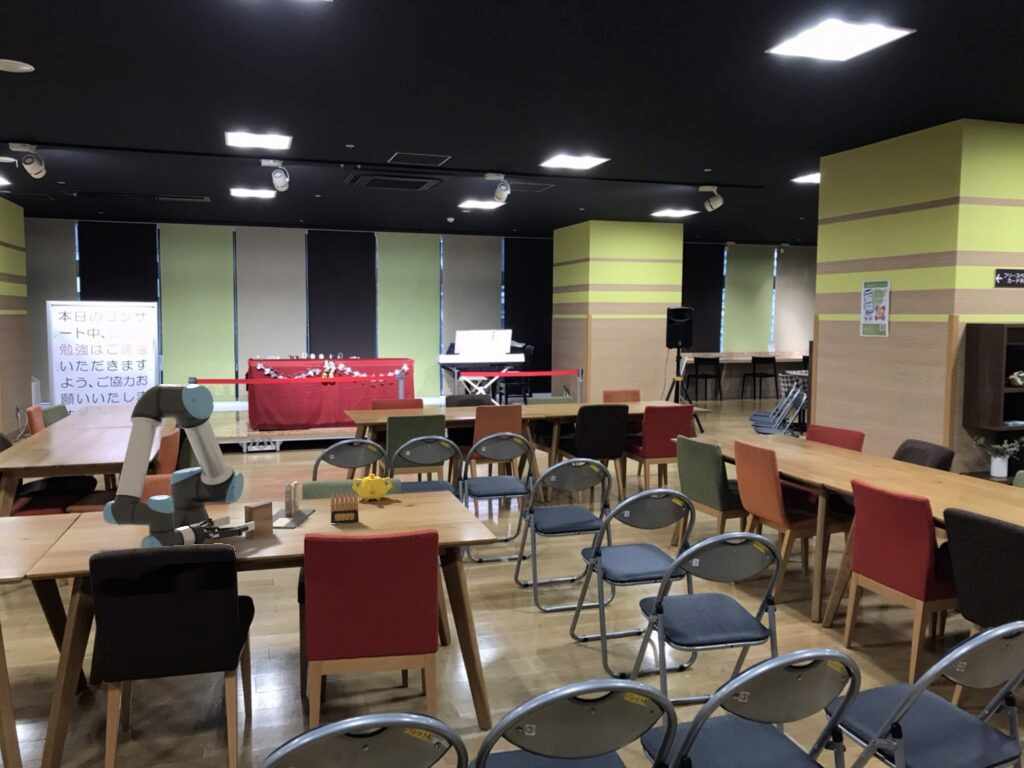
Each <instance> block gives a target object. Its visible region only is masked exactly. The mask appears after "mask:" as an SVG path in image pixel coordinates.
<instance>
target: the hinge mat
mask: <svg viewBox="0 0 1024 768" xmlns="http://www.w3.org/2000/svg"><path fill="white" fill-rule="evenodd" d="M314 510H315V508H299V510H298V511H297V512H296V513H295V514H293V515H292V517H285V508H280V510H278V511H277V512H275V514H274V513H273V529H282V528H294V529H296V528H297V527H298V526H299V525H300V524H301V523H303V521H305V520H306V519H307V518H308V517H309V516H310V515H312V514H313V513H314V512H315V511H316V510H315V511H314ZM313 511H314V512H313ZM312 512H313V513H312ZM309 514H310V515H309ZM308 515H309V516H308ZM307 516H308V517H307ZM306 517H307V518H306ZM305 518H306V519H305ZM304 519H305V520H304ZM300 522H301V523H300ZM298 524H299V525H298ZM297 525H298V526H297ZM296 526H297V527H296Z"/></svg>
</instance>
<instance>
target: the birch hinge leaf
mask: <svg viewBox="0 0 1024 768" xmlns="http://www.w3.org/2000/svg"><path fill="white" fill-rule="evenodd" d="M299 490H300V489H299V481H298V480H297V481H293V482H291V483H285V484H284V504H285V505H284V509H285V517H292V515H293V514H295V513H296V512H297V511H298V510H299V509H300V495H299V494H300V491H299Z"/></svg>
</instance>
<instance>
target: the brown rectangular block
mask: <svg viewBox="0 0 1024 768" xmlns="http://www.w3.org/2000/svg"><path fill="white" fill-rule="evenodd" d="M273 515H274V513H273V501H272V500H262V501H258V502H254V503H251V504H246V505H244V524H246V523H249V522H254V523H255V529H254V530H250V531H247V532H244V533H245V534H244V535H245V539H248V538H250V539H249V540H253V539H254V540H256V538H257V539H260V538H259V537H261V538H264V537H266V535H267V536H270V535H269V534H271V535H273V534H274V528H273ZM263 536H264V537H263Z"/></svg>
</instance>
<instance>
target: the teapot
mask: <svg viewBox="0 0 1024 768" xmlns="http://www.w3.org/2000/svg"><path fill="white" fill-rule="evenodd" d="M368 475H369V476H365V477H364V478H354V480H353V483H352V486H351V489H352V490H353V491H355V492H356V493H357V496H359V497H360V498H361V499H364V500H363V502H369V500H375V501H376V500H380V499H382V498H384V497H385V496H386V495H387V493H388V491H390V489H392V488H393V487H394V485H393V484H392V481H391V478H390V476H387V477H383V478H382V477H381V476H377V475H376V474H375V473H369V474H368ZM385 481H387V485H386V484H385ZM358 482H359V486H357V483H358Z"/></svg>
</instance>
